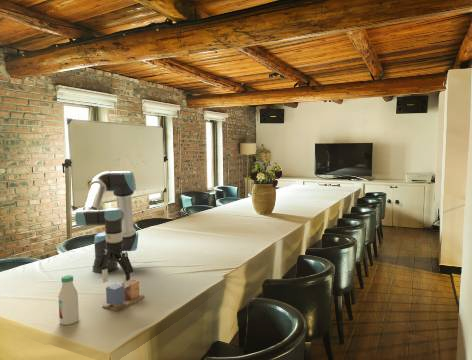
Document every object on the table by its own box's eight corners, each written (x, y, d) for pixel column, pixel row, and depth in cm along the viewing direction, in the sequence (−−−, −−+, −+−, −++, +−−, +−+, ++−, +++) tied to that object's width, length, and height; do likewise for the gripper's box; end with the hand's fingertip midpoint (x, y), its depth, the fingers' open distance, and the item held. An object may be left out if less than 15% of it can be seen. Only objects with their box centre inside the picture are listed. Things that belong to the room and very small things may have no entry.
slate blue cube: (106, 303, 169) (106, 287, 168) (115, 298, 174) (115, 283, 174) (116, 305, 167) (115, 289, 166) (124, 300, 172) (124, 285, 171)
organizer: (102, 307, 169) (101, 289, 168) (129, 294, 185) (128, 277, 184) (118, 311, 164) (117, 292, 164) (144, 297, 181) (143, 279, 180)
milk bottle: (81, 316, 160) (79, 273, 158) (74, 325, 152) (72, 279, 150) (64, 317, 159) (62, 274, 158) (56, 325, 152) (54, 280, 150)
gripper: (88, 240, 170) (90, 283, 172) (129, 246, 159) (130, 291, 161) (100, 236, 176) (102, 277, 178) (140, 242, 166) (141, 285, 168)
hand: (115, 284), depth 170 cm, fingers open, 13 cm apart
